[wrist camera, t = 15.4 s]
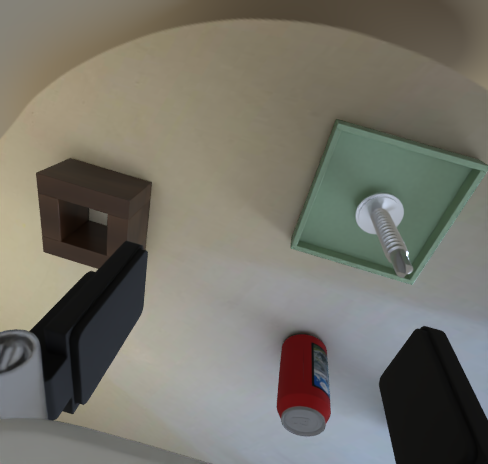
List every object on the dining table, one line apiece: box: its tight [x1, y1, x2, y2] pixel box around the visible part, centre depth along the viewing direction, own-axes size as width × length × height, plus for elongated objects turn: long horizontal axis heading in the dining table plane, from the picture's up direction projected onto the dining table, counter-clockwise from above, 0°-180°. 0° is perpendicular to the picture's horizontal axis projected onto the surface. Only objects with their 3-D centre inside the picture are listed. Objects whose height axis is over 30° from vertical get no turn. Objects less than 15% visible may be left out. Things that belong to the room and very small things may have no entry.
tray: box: [291, 119, 488, 285], centre depth 36 cm, size 15×15×2 cm
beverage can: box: [277, 334, 331, 436], centre depth 44 cm, size 7×7×12 cm
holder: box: [36, 158, 152, 269], centre depth 41 cm, size 11×11×6 cm
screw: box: [355, 192, 413, 278], centre depth 31 cm, size 13×5×5 cm
